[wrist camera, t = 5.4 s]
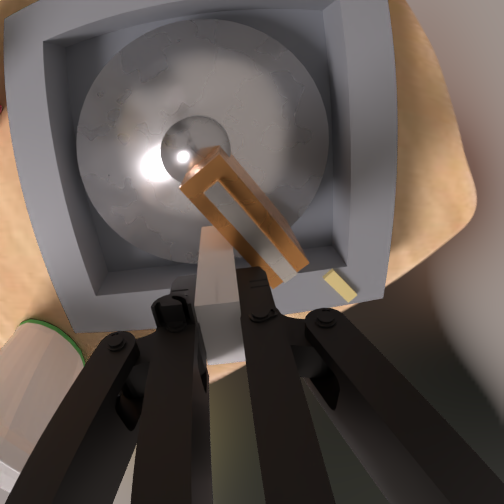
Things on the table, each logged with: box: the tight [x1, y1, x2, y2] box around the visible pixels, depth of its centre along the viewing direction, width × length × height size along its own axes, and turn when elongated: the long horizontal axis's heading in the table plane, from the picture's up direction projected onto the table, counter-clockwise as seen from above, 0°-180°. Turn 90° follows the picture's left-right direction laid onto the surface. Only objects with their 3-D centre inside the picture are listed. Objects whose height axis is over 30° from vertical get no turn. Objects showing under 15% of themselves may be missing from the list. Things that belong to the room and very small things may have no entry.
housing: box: [4, 0, 398, 333], centre depth 17 cm, size 22×22×5 cm
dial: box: [76, 19, 329, 289], centre depth 14 cm, size 14×14×7 cm
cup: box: [0, 319, 85, 493], centre depth 19 cm, size 12×12×15 cm
